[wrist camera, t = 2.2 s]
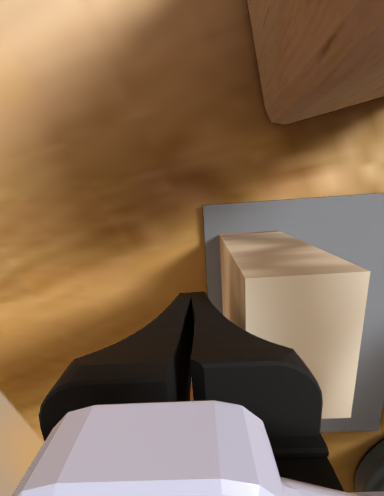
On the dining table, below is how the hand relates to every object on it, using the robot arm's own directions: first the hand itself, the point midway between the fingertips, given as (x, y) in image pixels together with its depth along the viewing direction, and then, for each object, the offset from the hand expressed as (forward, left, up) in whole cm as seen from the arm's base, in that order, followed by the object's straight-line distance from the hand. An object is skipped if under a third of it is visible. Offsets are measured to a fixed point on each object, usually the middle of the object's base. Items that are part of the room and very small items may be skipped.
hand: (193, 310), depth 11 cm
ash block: (-4, 0, -5) cm, 6 cm away
